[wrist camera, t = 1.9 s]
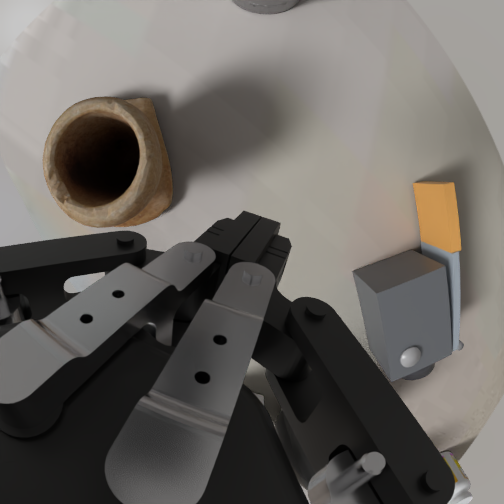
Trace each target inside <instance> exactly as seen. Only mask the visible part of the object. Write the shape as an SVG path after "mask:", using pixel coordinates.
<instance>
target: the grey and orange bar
mask: <svg viewBox="0 0 504 504" xmlns="http://www.w3.org/2000/svg"><path fill="white" fill-rule="evenodd" d="M413 187H414V193H415V199H416V206H417V212H418V219H419V227H420V235H421V250H422V255H424V256H426V257H428V258H430V259H432V260H434V261H436V262H438V263H440V264H443V265H445V267H446V275H447V284H448V294H449V305H450V319H451V340H452V351H455V350H461V349H462V348H463V346H464V344H463V343H462V342H461V341H460V340H459V331H460V263H459V251H460V250H461V238H460V227H459V217H458V208H457V200H456V193H455V186H454V182H430V181H421V182H416V183H413Z"/></svg>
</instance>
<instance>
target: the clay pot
mask: <svg viewBox="0 0 504 504" xmlns="http://www.w3.org/2000/svg"><path fill="white" fill-rule="evenodd" d="M43 169H44V176H45V179H46V182H47V185H48V188H49V190H50V192H51V194H52V196H53V198H54V199H55V201H56V202H57V204H58V206H59V207H60V208H61V209H62V210H63V211H64V212H65V213H66V214H67V215H68V216H69V217H70V218H72V219H73V220H75V221H77V222H79V223H81V224H83V225H86V226H90V227H97V228H100V227H113V226H114V227H128V226H136V225H139V224H143V223H146V222H148V221H151V220H153V219H155V218H157V217H158V216H160V215H161V213H162V212H163V211H164V210H166V209H167V208H168V207H169V206H170V204H171V202H172V194H173V184H172V173H171V167H170V163H169V158H168V154H167V151H166V147H165V144H164V140H163V137H162V133H161V130H160V127H159V123H158V120H157V117H156V113H155V109H154V105H153V103H152V100H151V99H149V98H136V99H128V100H122V99H119V98H115V97H94V98H90V99H86V100H83V101H80V102H78V103H76V104H74V105H72V106H71V107H70V108H68V109H67V110H66V111H65V112H64V113H63V114H62V115H61V116H60V117H59V118H58V119H57V121H56V122H55V123H54V125H53V127H52V129H51V131H50V133H49V135H48V137H47V140H46V143H45V148H44V153H43Z"/></svg>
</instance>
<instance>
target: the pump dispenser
mask: <svg viewBox="0 0 504 504" xmlns="http://www.w3.org/2000/svg"><path fill="white" fill-rule="evenodd" d="M275 429H276V431H277V434H278V436H279V438H280V441H281V443H282V445H283V447H284V450H285V452H286V454H287V457H288V459H289V461H290V463H291V465H292V468H293V470H294V472H295V474H296V477H297V479H298V481H299V483H300V485H301V486H303V487H304V488H305V489H306V490H308V485H309V482H310V480H311V478H312V477H313V476H314V475H315V472H314V470H313V468H312V466H311V464H310V463H309V461H308V459H307V457H306V455H305V453H304V451H303V449H302V447H301V445H300V443H299V441H298V440H297V438H296V436H295V434H294V432H293V430H292V428H291V426H290V424H289V422H288V420H287V418H286V416H285V414H284V412H283V410H282V409H281V411H280V413H279V415H278V416H277V419H276V422H275Z"/></svg>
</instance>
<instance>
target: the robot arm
mask: <svg viewBox="0 0 504 504" xmlns="http://www.w3.org/2000/svg"><path fill="white" fill-rule="evenodd" d="M232 1H233V2H234V3H235V4H237V5H238V6H239V7H241V8H243V9H245V10H248V11H250V12H254V13H259V14H273V13H279V12H283V11H286V10H288V9H290V8H292V7H293V6H294V5H296V4H297V3H298V1H299V0H232ZM279 229H280V223H279V222H276V221H273V220H270V219H267V218H264V217H261V216H259V215H256V214H253V213H249V212H246V211H243V212H242V213H241V214H240V215H239V216H238V217H237V218H236V219H235V220H232V219H229V218H225V219H222V220H218V221H217V222H216V223H214V224H213V225H212V227H210V228H209V229H208V230H207V231H205V232H204V233H203V234H202V235H201V236H200V237H199V238H198V239H196V240H195V241H194V242H182V243H178V244H176V245H175V246H173V247H172V248H170V249H169V250H167V251H166V252H161V251H155V250H149V249H146V248H147V241H146V239H145V237H144V236H142V235H141V234H139V233H136V232H132V231H116V232H108V233H100V234H91V235H84V236H76V237H68V238H61V239H53V240H46V241H39V242H32V243H25V244H18V245H11V246H5V247H0V504H309V503H308V500H307V498H306V496H305V494H304V492H303V490H302V488H301V485H300V483H299V481H298V479H297V477H296V474H295V472H294V470H293V468H292V465H291V463H290V461H289V459H288V457H287V454H286V452H285V450H284V447H283V445H282V443H281V441H280V438H279V436H278V434H277V431H276V429H275V427H274V424H273V422H272V420H271V417H270V415H269V413H268V411H267V410H266V408H265V407H264V405H263V404H262V402H261V401H260V400H259V399H258V397H257V396H256V395H255V394H254V393H253V392H252V391H251V390H250V389H249V388H247V387H246V386H245V385H244V384H242V383H243V381H244V378H245V375H246V372H247V369H248V366H249V363H250V360H251V358H252V359H254V360H255V361H256V362H258V363H259V364H261V365H262V366H263V367H265V368H266V372H265V373H266V377H267V380H268V382H269V384H270V386H271V388H272V390H273V392H274V394H275V396H276V398H277V400H278V402H279V404H280V406H281V408H282V410H283V412H284V414H285V416H286V418H287V420H288V422H289V424H290V426H291V428H292V430H293V432H294V434H295V436H296V438H297V440H298V441H299V443H300V445H301V447H302V449H303V451H304V453H305V455H306V457H307V459H308V461H309V463H310V464H311V466H312V468H313V470H314V472H315V475H314V476H313V477H312V478H311V480H310V482H309V485H308V497H309V500H310V503H311V504H447V503H448V502H449V501H450V500H451V498H452V496H453V494H454V490H455V479H454V475H453V473H452V470H451V469H450V467H449V466H448V464H447V463H446V461H445V460H444V458H443V457H442V456H441V454H440V453H439V451H438V450H437V448H436V447H435V446H434V444H433V443H432V441H431V440H430V438H429V437H428V436H427V434H426V433H425V431H424V430H423V429H422V427H421V426H420V424H419V423H418V422H417V420H416V419H415V417H414V416H413V415H412V413H411V412H410V411H409V409H408V408H407V406H406V405H405V404H404V402H403V401H402V400H401V398H400V397H399V395H398V394H397V393H396V391H395V390H394V389H393V387H392V386H391V385H390V383H389V382H388V380H387V379H386V378H385V376H384V375H383V374H382V372H381V371H380V370H379V368H378V367H377V366H376V364H375V363H374V362H373V360H372V359H371V358H370V356H369V355H368V354H367V352H366V351H365V350H364V348H363V347H362V346H361V344H360V343H359V342H358V340H357V339H356V338H355V336H354V335H353V334H352V332H351V331H350V330H349V329H348V327H347V326H346V325H345V323H344V322H343V321H342V319H341V318H340V317H339V315H338V314H337V313H336V312H335V310H334V309H333V308H332V307H331V306H330V305H328V304H327V303H325V302H323V301H321V300H319V299H316V298H311V297H301V298H298V299H296V300H294V301H293V302H291V301H290V300H288V299H287V298H285V297H284V296H283V295H282V294H281V293H280V292H279V291H278V289H277V287H278V284H279V282H280V280H281V277H282V274H283V271H284V268H285V265H286V262H287V259H288V256H289V253H290V250H291V247H292V246H291V243H290V240H289V239H288V238H285V237H282V236H279V235H278V232H279ZM99 272H105V276H104V277H102V278H101V279H99V280H98V281H96V282H95V283H94V284H92V285H91V286H89V287H88V288H86V289H85V290H83V291H82V292H78V293H67V292H66V291H65V290H64V283H65V281H66V280H67V279H69V278H70V277H74V276H80V275H87V274H93V273H99Z"/></svg>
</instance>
